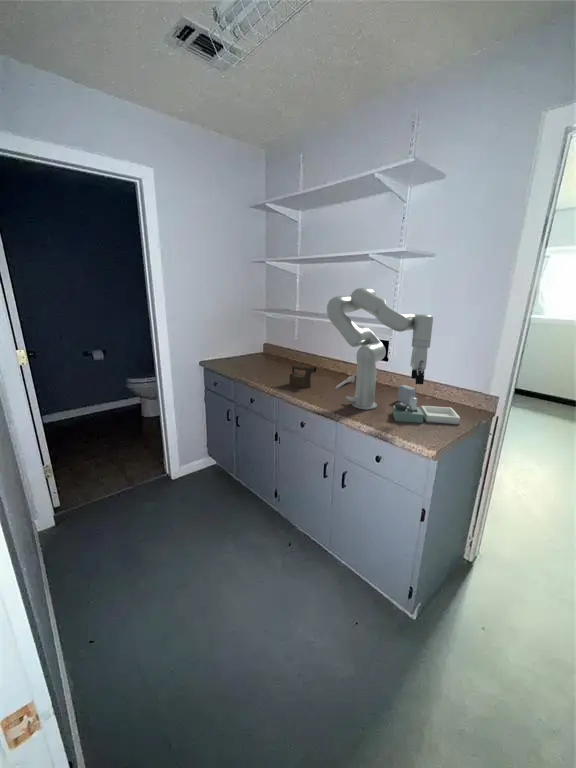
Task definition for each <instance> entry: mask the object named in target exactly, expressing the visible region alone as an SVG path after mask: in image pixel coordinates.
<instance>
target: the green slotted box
mask: <svg viewBox="0 0 576 768" xmlns="http://www.w3.org/2000/svg"><path fill="white" fill-rule="evenodd" d="M391 411H392V412H391V413H392V415H393V419H394V421H395V422H404V423H418V424H423V422H424V417H423V416H424V414H423V413H422V411H421V407H419V406H416V412H409V405H407V404H405V403H401V402H395V404H394V405H392V410H391Z"/></svg>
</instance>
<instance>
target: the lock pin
mask: <svg viewBox="0 0 576 768" xmlns="http://www.w3.org/2000/svg"><path fill="white" fill-rule="evenodd" d="M417 403H418V397H416V396H415V397H410V405H408V406H409V412H416V407H417Z"/></svg>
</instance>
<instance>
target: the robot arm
mask: <svg viewBox="0 0 576 768" xmlns="http://www.w3.org/2000/svg"><path fill="white" fill-rule="evenodd" d="M326 305H327V306H326V314H327V318H328V319H329V321H330V322H331V324H332V325H333V326H334V327H335V329H337V331H338V332H339V333H340V335H341V336H342V337H343V339H344V340H345V341H346V342H347V344H348V345H349V346H350V347H352V348H357V347H359V348H358V349H357V352H356V354H355V356H356V380H355V381H356V382H355V394H354V396H352V397H351V396H345V397H346V398H345V401H348V402H351V406H352V407H353V408H355V409H359V410H375V409H376V408H377V407H378V404H377V402H375V396H376V395H375V392H376V382H377V365H376V364H377V362H380V361H381V360H382V361H383V359H384V358H385V357H386V356H387V355H386V353H387V352H386V351H387V350H386V347H385V345H384V344H383V342H382V341H381V340H380V339H379V337H377V336H376V334H375V333H374V331H372V330H371V329H370V328H368V327H366V326H358V325H357V324H356V323H355V322H354V321H353V320H352V318H351V317H350V316H348V315H347V313H352V312H354V311H359V310H361V309H362V310H364V311H365V312H367V313H369V314H371V315H372V316H374V317H375V318H376V319H377V321H378V322H380V323H381V324H382V325H384V326H385V327H386V328H387V327H388V328H390V329H391V330H393V331H396V332H399V333H400V332H402V333H403V332H406V331H412V337H411V338H412V341H411V347H412V352H411V358H410V367H411V377H410V378H411V379H415V384H416V385H424V382H425V373H426V372H425V370H426V368H427V361H428V349H430V347H431V341H432V333H433V324H434V323H433V322H434V317H433V315H432V314H417V313H416V314H415V313H410V312H408V313H406V312H405V313H399V312H398V311H396V310H394V309H393V308H391V307H389V306H388V305H387V301H386V299H385V298H383V297H382V296H378V295H377V294H376V291H374V290H373V288H369V287H358V288H355V289H354V290H353V291H352V292H351V294H349V295H336V296H334V297H332V298H330V299H329V301H328V303H327V304H326Z"/></svg>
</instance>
